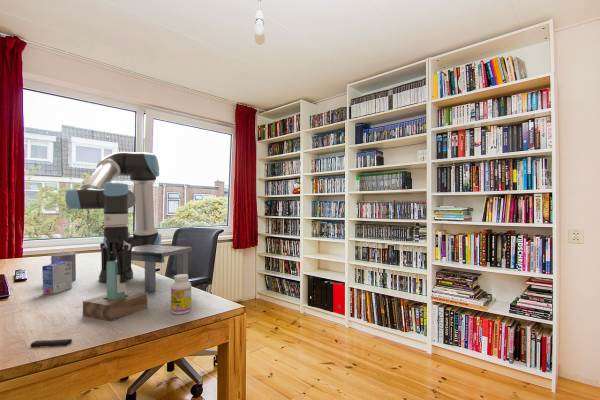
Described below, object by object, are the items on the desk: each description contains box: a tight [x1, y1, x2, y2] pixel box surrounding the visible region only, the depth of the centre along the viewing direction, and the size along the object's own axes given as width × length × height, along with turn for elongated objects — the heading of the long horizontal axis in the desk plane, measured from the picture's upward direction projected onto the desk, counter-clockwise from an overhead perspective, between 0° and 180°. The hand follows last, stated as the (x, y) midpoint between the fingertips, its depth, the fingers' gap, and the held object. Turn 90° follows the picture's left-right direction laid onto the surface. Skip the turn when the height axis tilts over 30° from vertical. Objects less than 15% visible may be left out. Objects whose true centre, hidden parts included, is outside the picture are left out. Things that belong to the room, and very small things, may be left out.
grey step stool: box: [116, 244, 193, 293], centre depth 125 cm, size 24×16×20 cm, turn 69°
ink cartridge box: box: [41, 258, 73, 295], centre depth 135 cm, size 10×6×14 cm, turn 174°
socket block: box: [82, 290, 148, 322], centre depth 109 cm, size 14×14×5 cm
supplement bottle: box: [170, 274, 192, 316], centre depth 108 cm, size 7×7×13 cm
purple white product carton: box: [50, 251, 77, 282], centre depth 152 cm, size 10×10×15 cm
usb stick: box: [29, 338, 73, 348], centre depth 83 cm, size 10×3×2 cm, turn 96°
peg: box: [106, 260, 126, 301], centre depth 109 cm, size 4×4×14 cm
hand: (116, 291), depth 109 cm, fingers open, 4 cm apart
